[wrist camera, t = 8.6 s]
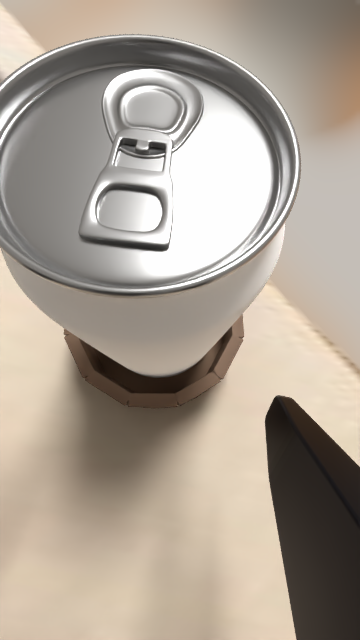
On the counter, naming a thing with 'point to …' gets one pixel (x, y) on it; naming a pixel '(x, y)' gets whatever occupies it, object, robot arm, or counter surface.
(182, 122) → the can
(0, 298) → the counter surface
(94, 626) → the counter surface
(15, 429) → the counter surface
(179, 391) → the holder
